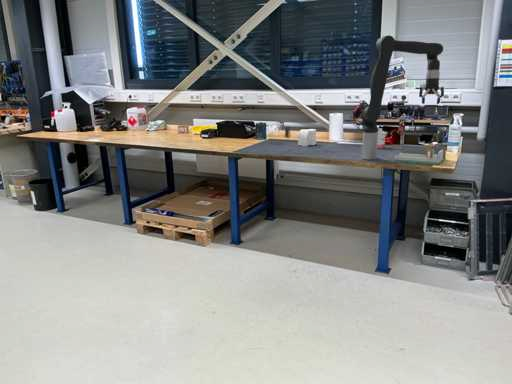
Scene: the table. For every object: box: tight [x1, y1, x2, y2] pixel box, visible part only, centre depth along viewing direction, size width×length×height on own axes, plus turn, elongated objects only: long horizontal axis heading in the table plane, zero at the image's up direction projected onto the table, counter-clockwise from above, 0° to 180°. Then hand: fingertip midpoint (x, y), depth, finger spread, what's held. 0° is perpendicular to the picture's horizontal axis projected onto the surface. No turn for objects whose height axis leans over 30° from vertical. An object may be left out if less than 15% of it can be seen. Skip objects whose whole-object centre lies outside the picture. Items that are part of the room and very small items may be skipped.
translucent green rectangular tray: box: [393, 144, 447, 166], centre depth 253 cm, size 26×19×8 cm
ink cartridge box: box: [377, 127, 386, 149], centre depth 300 cm, size 9×5×15 cm, turn 47°
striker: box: [425, 130, 455, 158], centre depth 246 cm, size 13×15×16 cm
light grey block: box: [297, 128, 317, 147], centre depth 323 cm, size 11×11×12 cm
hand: (430, 104), depth 259 cm, fingers open, 8 cm apart
